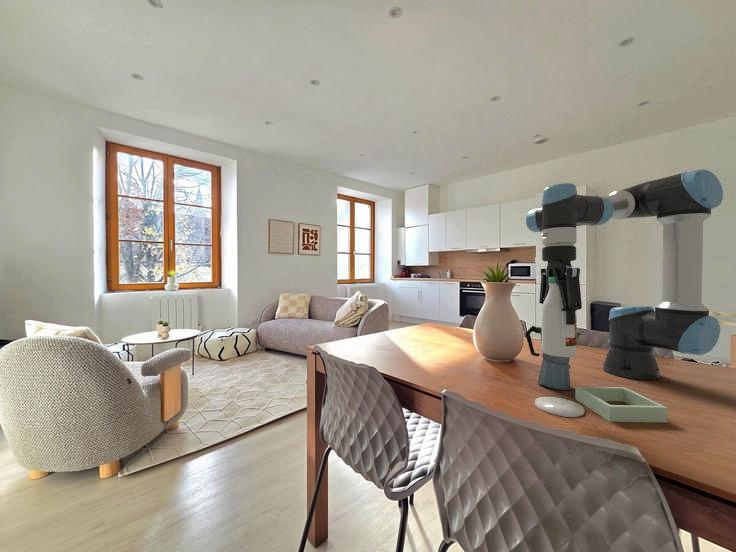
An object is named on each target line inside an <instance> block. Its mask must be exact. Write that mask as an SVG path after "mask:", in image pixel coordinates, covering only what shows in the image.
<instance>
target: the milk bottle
mask: <svg viewBox="0 0 736 552" xmlns="http://www.w3.org/2000/svg"><path fill="white" fill-rule="evenodd" d="M548 281H549V286H550V288H549V292H548V295H547V297H546V299H545V301H544V303H543V304H542V307H541V308H542V309H541V327H542V345H541V352H542V354H543V353H545V354H548V355H552V356H558V357H570V358H573V357H574V358H575V357H576V355H577V346H578V345H577V343H578V342H577V341H578V339H577V332H578V329H577V311H575V338H563V337H562V311H561V309H563V308H564V307H563V303H562V298H561V294H560V289H559V286H558V285H557V284H556V281H555V277H549V280H548ZM562 281H566V280H562Z"/></svg>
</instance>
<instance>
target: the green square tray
mask: <svg viewBox="0 0 736 552" xmlns="http://www.w3.org/2000/svg"><path fill="white" fill-rule="evenodd" d="M574 394H575V400H576V401H577V402H579V403H580V404H582V405H584V406H585V407H586V408H587V409H589V410H591V411H593V412H594V413H596V414H597V415H598V416H600V417H602V418H604V419H605V420H606V421H607V422H609V423H616V422H617V423H668V407H667V406H664V405H663V404H661V403H659V402H656V401H655V400H653V399H650V398H648V397H646V396H643V395H642V394H640V393H638V392H636V391H633V390H631V389H629V388H627V387H625V386H624V387H623V386H575V393H574ZM608 402H624V403H626V404H625V405H624V404H621V405H620V404H618V405H617V404H610V403H608Z"/></svg>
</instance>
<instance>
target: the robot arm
mask: <svg viewBox="0 0 736 552" xmlns="http://www.w3.org/2000/svg"><path fill="white" fill-rule="evenodd" d="M723 199H724V191H723V186H722V183H721V181H720V179H719V178H718V177H717V176H716V174H714V173H713V171H710V170H707V169H703V168H702V169H696V170H691V171H683V172H682V173H681V172H680V173H677V174H673V175H671V176H665V177H662V178H657V179H652V180H649V181H645V182H642V183H638V184H635V185H633V186H629V187H626V188H622V189H620V190H615V191H613V192H611V193H610V194H608V195H603V196H598V195H583V194H578V190H577V186H576V185H575V183H570V182H569V183H568V182H564V183H557V184H552V185H549V186H546V187H545V188H544V189H543V191H542V199H541V206H540V207H539V206H538V207H536V208H533V209H531V210H529V211H528V213H527V215H526V217H525V224H526V227H527V229H528V230H529V231H531V232H533V233H541V237H542V243H541V244H542V245H543V247H542V248H541V251H542V252H541V260H542V261H543V262H547V266H546V268H540V287H539V289H540V291H539V299H538V300H539V301H538V302H539V304H542V305H543V303H544V301H545V299H546V297H547V295H548V292H549V288H550V286H549V281H548V280H549V277H555V281H556V284H557V285H558V286H559V289H560V294H561V298H562V303H563V307H564V308H563V309H561V311H562V337H563V338H575V311H576V312H577V310H582V309H583V308H582V307H583V304H582V295H581V294H582V292H581V284H580V275H581V268H580V267H573V266H572V263H571V262H574V261H576V260H577V247H576V245H575V244H576V243H577V227H580V226H581V227H582V226H591V227H593V226H602V225H604V224H606V223H607V222H609V221H610V220H611V219H614V220H623V219H633V218H651V217H656V221H657V222H659V223H660V224H662V264H661V266H662V267H661V268H662V269H661V270H662V274H661V276H662V277H661V301H660V302H659V303H657V304H656V305H655V307H653V306H652V305H651V306H650V305H647V306H646V305H644V306H643V305H642V306H638V305H637V306H615V307H612V308H611V309H610V310H609V315H608V316H609V317H608V328H609V331H608V333H609V334H608V337H609V338H608V339H609V341H608V343H609V344H608V345H609V346H608V350H607V352H606V355H605V358H604V360H603V361H602V370H603V371H604V372H606V373H608V374H611V375H614V376H619V377H622V378H628V379H634V380H643V381H644V380H646V381H651V380H652V381H655V380H659V379H661V370H660V368H659V366H658V363H657V360H656V357H655V354H654V348H656V349H662V350H666V351H672V352H677V353H679V354H683V355H687V354H688V355H695V356H702V355H706V354H708V353H710V352H711V351H712V350H713V349H714V348H715V346H716V345H717V344H718V341H719V340H720V335H721V325H720V323H719V322H720V321H719V320H718V319H717V317H713V316H712V315H710V309H709V308H708V307H707V306H705V305H704V304H703V302H702V301H703V300H702V299H703V295H702V294H703V256H704V255H703V252H704V251H703V250H704V249H703V248H704V247H703V246H704V222H705V221H706V220H708V219H710V217H711V216H712V209H715V208H717V207H719V206H720V205H721V204H722V201H723ZM562 280H566V281H562Z"/></svg>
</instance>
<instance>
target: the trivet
mask: <svg viewBox="0 0 736 552" xmlns="http://www.w3.org/2000/svg"><path fill="white" fill-rule="evenodd" d="M534 405H535V407H536V408H537V409H539V411H543V412H545V413H547V414H551V415H553V416H559V417H564V418H579V417H582V416H584V415H585V408H584V407H583V406H582V405H580V404H579V403H577V402H575V401H572V400H569V399H565V398H562V397H557V396H555V397H554V396H541V397H536V398H535V400H534Z"/></svg>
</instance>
